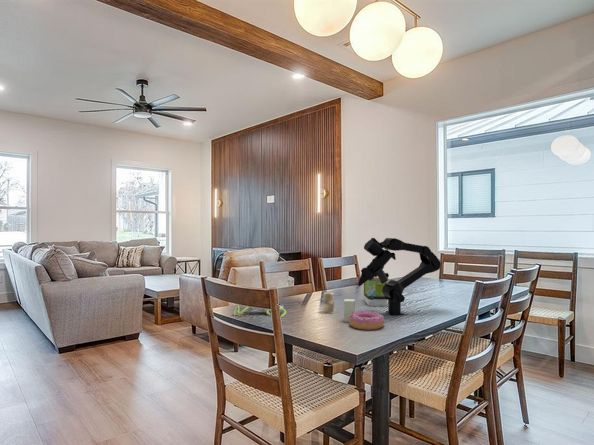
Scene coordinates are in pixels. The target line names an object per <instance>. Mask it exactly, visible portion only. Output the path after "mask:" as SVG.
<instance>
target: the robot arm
mask: <svg viewBox="0 0 594 445" xmlns="http://www.w3.org/2000/svg"><path fill="white" fill-rule="evenodd" d="M363 249H364V250H365V251H366V252H367V253H369V254H371V256H373V257H374V258H372V260H371V262H369V263H368V265H367V266H366V267H362V269H361V270H360V277H359V280H358V283H357V286H358V287H361V286H362V285H364V283H365V282H366V281H368V280H373V279H374V277H377V276H378V277H379V279H380V282H381V283H382V284H383V283H385V282H387V283H385V285H384V286H383V289H382V293H383V295H384V296H385V299H387V302H388V303H387V308H388V309H387V310H386V311H385V312H386V314H388V315H390V316H402V315H403V316H404V312H402V307H401V306H402V305H401V304H402V303H403V302H405V299H406V297H405V296H404V295H403V292H404V290H405V289H406V288H407V287H409V286H411V285H412V284H414V283H415V282H416V281H418V280H419V279H420V278H423V276H426V275H427V274H430V273H431V274H433V273H434V272H438V271H439V270H440V269H441V266H442V263H441V260H440V259H439V258H438V257H437V255H436V254H435V253H434V252H433V251H432V249H431V248H430V247H429V246H427V245H420V244H413V243H408V242H405V241H403V240H401V239H398V238H395V237H394V238H393V237H386V238H385V239H384V240H383V241H381V242H379V241H378V240H377V239H376V238H375V237H371V238H370V239H369V240H368V241H366V242H365V244H364V245H363ZM391 251H392V252H391ZM393 251H395V252H397V251H399V252H400V251H405V252H411V253H417V254H418V255H419V260H420V264H419V266H418V267H416V268H414V269H413V270H412V271H410V272H409V273H407V274H406V275H404V276H402V277H401V278H400V279H398V280H394V279H390V280H389V277H390V275H389V273H388V272H385V270H384V268H385V266H386V264H388V262H389V261H390V260H391V259H392V260H394V261H395V260H397V259H396V253H395V252H393Z"/></svg>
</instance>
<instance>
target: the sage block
mask: <svg viewBox="0 0 594 445" xmlns="http://www.w3.org/2000/svg"><path fill="white" fill-rule="evenodd" d="M354 312H356V299H354V298H344V300H343V322H344V323H350V321H349V318H350V316H351V315H350V314H352V313H354ZM349 315H350V316H349Z"/></svg>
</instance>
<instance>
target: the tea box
mask: <svg viewBox="0 0 594 445" xmlns="http://www.w3.org/2000/svg"><path fill="white" fill-rule="evenodd" d="M385 283H388V281H387V282H385ZM385 283H383V284H382V283H381V282H380V279H379V277H378V276H377V277H374V279H373V280H368V281H366V282H365V283H364V284H363V301H364V303H366V305H367V306H368V307H387V306H388V303H387V302H388V300H387V299H385V296H384V295H383V293H382V289H383V286H384V285H385Z"/></svg>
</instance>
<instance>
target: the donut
mask: <svg viewBox="0 0 594 445" xmlns="http://www.w3.org/2000/svg"><path fill="white" fill-rule="evenodd" d="M350 315H351V316H350ZM350 315H349V316H350V318H349V321H350V322H349V324H350V326H351V327H353V328H355V329H358V330H363V331H364V330H365V331H366V330H367V331H375V330H378V329H381V328H383V326H384V325H385V318H384V315H382V314H381V313H379V312H374V311H368V310H366V311H365V310H364V311H362V310H361V311H355V312H354V313H352V314H350Z"/></svg>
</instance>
